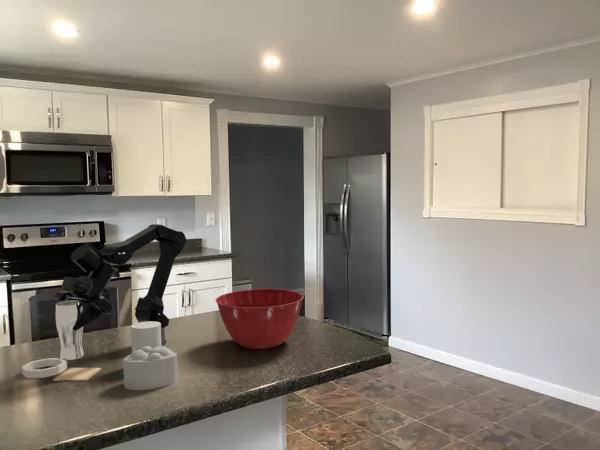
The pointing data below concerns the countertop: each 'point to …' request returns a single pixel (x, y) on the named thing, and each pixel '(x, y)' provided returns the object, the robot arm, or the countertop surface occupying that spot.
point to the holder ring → (33, 372)
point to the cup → (146, 335)
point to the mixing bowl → (260, 316)
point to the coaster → (77, 374)
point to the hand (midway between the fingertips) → (65, 328)
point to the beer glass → (69, 329)
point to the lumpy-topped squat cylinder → (150, 368)
